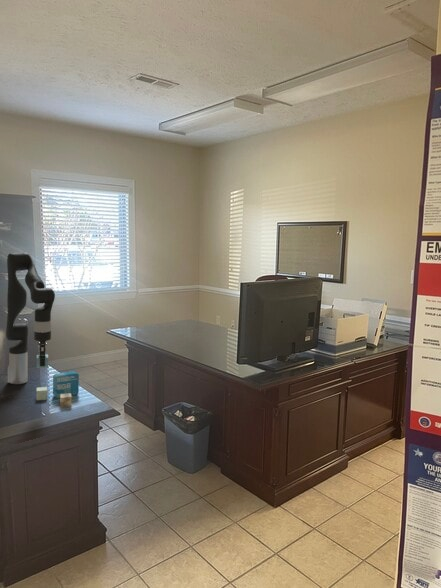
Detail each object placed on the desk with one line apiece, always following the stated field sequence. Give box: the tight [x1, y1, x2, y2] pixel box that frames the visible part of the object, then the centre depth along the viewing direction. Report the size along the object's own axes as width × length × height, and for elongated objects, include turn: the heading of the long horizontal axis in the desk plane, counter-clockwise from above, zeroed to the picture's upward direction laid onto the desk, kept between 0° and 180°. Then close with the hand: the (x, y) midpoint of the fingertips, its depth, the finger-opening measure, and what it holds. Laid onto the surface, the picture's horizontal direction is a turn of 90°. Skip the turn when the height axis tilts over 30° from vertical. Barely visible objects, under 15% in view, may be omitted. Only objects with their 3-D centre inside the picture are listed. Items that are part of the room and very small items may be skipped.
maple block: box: [59, 393, 72, 408], centre depth 212 cm, size 5×5×5 cm
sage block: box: [36, 386, 48, 401], centre depth 219 cm, size 5×5×5 cm
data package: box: [52, 370, 80, 399], centre depth 224 cm, size 12×4×12 cm, turn 127°
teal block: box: [36, 354, 49, 369], centre depth 206 cm, size 5×5×5 cm
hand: (42, 364), depth 206 cm, fingers closed on teal block, 5 cm apart
